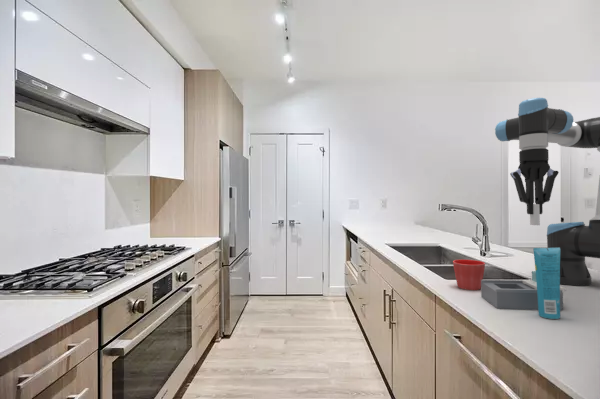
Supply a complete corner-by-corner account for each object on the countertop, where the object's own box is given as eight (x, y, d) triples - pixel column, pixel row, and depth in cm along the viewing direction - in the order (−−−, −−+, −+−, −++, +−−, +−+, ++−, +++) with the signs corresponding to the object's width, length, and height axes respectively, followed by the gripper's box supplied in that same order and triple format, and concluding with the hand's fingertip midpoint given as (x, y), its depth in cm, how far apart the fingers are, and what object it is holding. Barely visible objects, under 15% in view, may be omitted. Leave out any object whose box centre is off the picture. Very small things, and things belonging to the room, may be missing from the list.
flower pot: (491, 291, 122) (491, 264, 123) (461, 291, 123) (460, 264, 123) (477, 284, 133) (476, 259, 133) (448, 284, 133) (448, 259, 133)
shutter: (547, 283, 111) (546, 271, 111) (565, 290, 102) (565, 278, 102) (522, 282, 113) (522, 271, 113) (538, 290, 103) (538, 277, 103)
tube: (554, 313, 98) (552, 246, 98) (568, 318, 93) (567, 248, 93) (529, 314, 97) (528, 247, 98) (543, 320, 93) (541, 249, 93)
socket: (539, 297, 113) (538, 280, 113) (563, 310, 100) (562, 290, 100) (481, 296, 116) (480, 279, 116) (497, 308, 103) (496, 289, 103)
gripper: (549, 150, 109) (551, 224, 109) (505, 151, 112) (506, 224, 111) (563, 146, 102) (565, 225, 102) (516, 148, 104) (517, 225, 104)
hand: (534, 224), depth 107 cm, fingers closed
